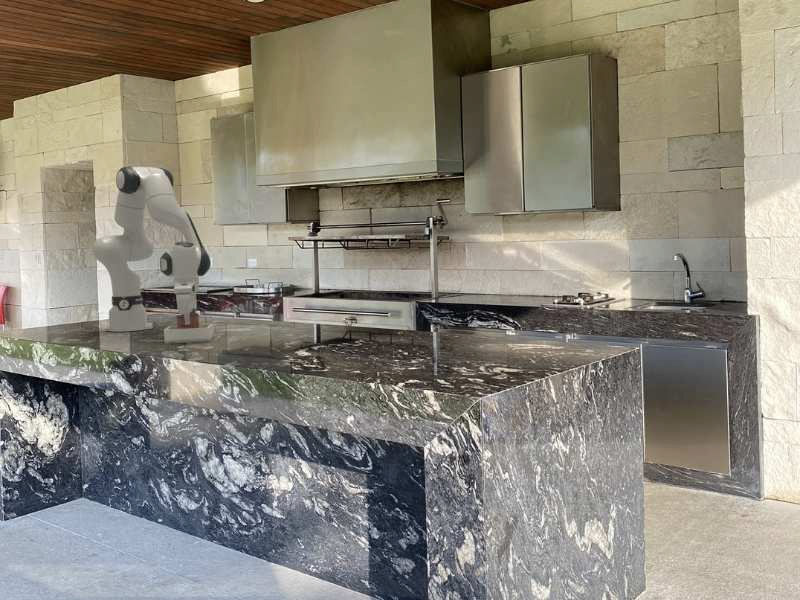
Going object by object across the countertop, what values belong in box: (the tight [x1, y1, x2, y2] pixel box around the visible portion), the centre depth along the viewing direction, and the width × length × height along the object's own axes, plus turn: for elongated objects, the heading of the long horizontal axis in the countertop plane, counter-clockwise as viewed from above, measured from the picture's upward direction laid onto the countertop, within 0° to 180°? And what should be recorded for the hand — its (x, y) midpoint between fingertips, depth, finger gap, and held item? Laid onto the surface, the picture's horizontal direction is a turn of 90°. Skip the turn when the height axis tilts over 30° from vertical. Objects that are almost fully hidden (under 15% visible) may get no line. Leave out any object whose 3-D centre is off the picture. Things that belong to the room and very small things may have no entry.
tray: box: [163, 323, 215, 345], centre depth 312 cm, size 12×16×5 cm
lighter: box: [176, 308, 200, 329], centre depth 311 cm, size 8×3×10 cm, turn 90°
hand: (188, 324), depth 312 cm, fingers closed on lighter, 2 cm apart
